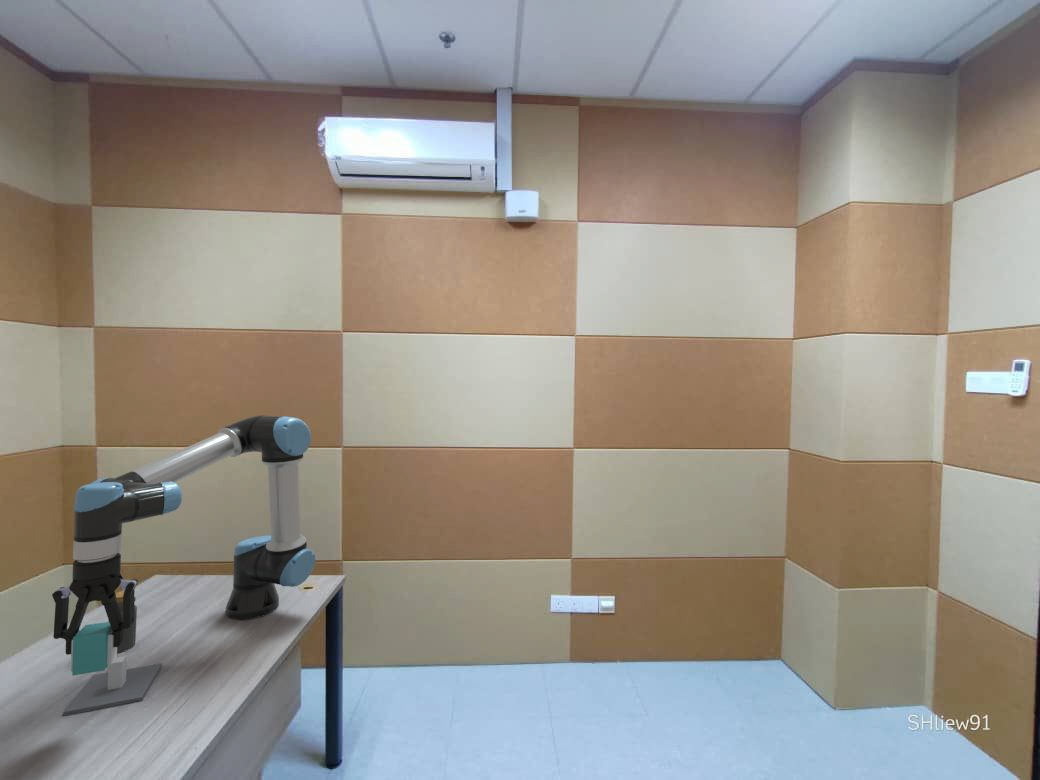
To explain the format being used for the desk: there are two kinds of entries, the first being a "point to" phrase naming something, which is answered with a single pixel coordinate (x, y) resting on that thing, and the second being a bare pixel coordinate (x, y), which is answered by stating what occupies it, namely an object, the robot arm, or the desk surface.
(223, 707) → the desk surface
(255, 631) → the desk surface
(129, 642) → the bottle
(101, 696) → the stand
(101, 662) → the teal rectangular block
